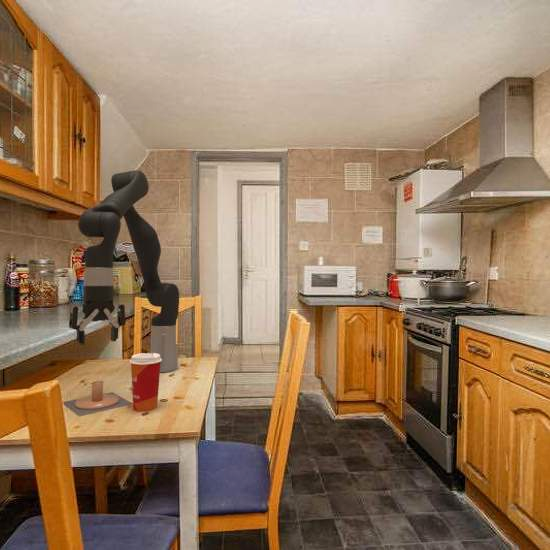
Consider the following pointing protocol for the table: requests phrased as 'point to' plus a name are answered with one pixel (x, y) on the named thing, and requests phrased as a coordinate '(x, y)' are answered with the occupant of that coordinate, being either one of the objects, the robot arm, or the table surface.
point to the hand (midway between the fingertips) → (97, 342)
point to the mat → (85, 412)
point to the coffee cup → (145, 381)
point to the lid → (97, 399)
